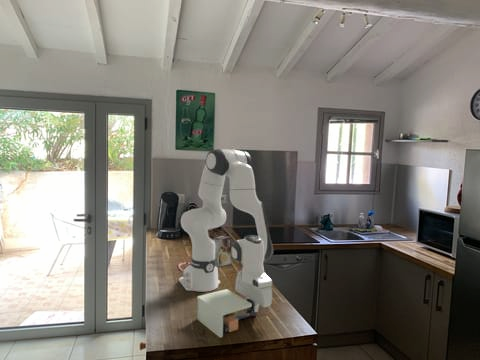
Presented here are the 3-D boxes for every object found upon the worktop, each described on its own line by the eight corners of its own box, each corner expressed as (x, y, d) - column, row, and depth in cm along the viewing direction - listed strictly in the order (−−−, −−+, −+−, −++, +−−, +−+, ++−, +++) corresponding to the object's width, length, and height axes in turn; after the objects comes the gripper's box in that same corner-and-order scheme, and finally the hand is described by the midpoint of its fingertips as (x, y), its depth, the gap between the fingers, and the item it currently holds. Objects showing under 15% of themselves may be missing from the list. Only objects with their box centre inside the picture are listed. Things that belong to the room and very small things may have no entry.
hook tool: (214, 323, 138) (214, 308, 137) (252, 311, 148) (252, 297, 148) (225, 331, 132) (225, 316, 131) (264, 319, 142) (264, 304, 142)
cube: (223, 327, 136) (223, 317, 135) (232, 325, 138) (232, 315, 138) (229, 332, 133) (229, 321, 132) (238, 329, 135) (238, 319, 134)
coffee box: (224, 261, 216) (225, 235, 214) (231, 264, 211) (231, 237, 209) (212, 264, 210) (212, 237, 209) (218, 267, 205) (218, 239, 204)
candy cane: (177, 270, 195) (178, 262, 210) (177, 273, 195) (178, 264, 210) (191, 270, 196) (191, 261, 211) (191, 272, 196) (191, 264, 211)
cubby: (196, 318, 142) (197, 296, 141) (226, 310, 150) (226, 289, 149) (220, 337, 128) (220, 312, 128) (251, 327, 137) (251, 303, 136)
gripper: (231, 270, 151) (231, 301, 153) (262, 285, 135) (261, 321, 136) (244, 267, 155) (243, 298, 156) (275, 282, 138) (274, 316, 140)
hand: (252, 309), depth 146 cm, fingers closed on hook tool, 3 cm apart
